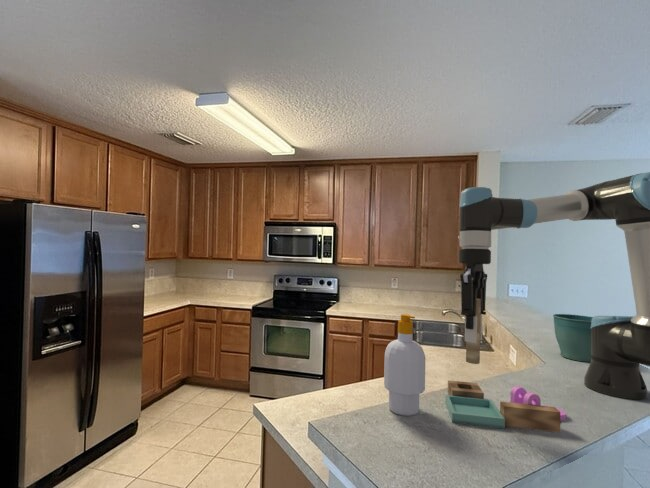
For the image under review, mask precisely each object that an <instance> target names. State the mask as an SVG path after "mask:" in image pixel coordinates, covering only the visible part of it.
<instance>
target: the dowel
mask: <svg viewBox="0 0 650 488" xmlns="http://www.w3.org/2000/svg"><path fill="white" fill-rule="evenodd" d="M480 313H481V299H479V298H477V302H476V315H475V316H477V343H471V342H466V341H465V343H466V344H465V362H466V363H467V364H472V365H479V364H480V362H481V361H480V360H481V359H480V357H481V341H480Z"/></svg>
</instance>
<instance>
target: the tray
mask: <svg viewBox="0 0 650 488" xmlns="http://www.w3.org/2000/svg"><path fill="white" fill-rule="evenodd" d="M444 398H445V400H444V402H445V406H446V409H447V411H448V415H449V418H450V420H451V423H452V424H453V423H455V424H462V425H471V426H480V427H487V428H496V429H506V426H505V418H504V417H503V416H502V414H501V413H500V409H499V408H498V406H496V404H495V402H494V401H493V400H492V399H490V398H488V399H487V398H484V399H480V398H471V397H461V396H451V395H448V394H445V397H444Z"/></svg>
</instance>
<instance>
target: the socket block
mask: <svg viewBox="0 0 650 488" xmlns="http://www.w3.org/2000/svg"><path fill="white" fill-rule="evenodd" d="M447 395H451V396H461V397H471V398H480V399H485V397H484V396H485V395H484V391H483V390H482V389H481V387H480V386H479V384H478V383H477V382H469V381H460V380H459V381H458V380H447Z"/></svg>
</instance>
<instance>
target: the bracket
mask: <svg viewBox="0 0 650 488" xmlns="http://www.w3.org/2000/svg"><path fill="white" fill-rule="evenodd" d="M510 402H511V403H521V404H530V405H540V406H542V405H541V403H542V402H541V397H540V396H539V395H538V394H536V393H534V392H532V391H528V392H527V390H526V389H525V388H523V387H521V386H519V385H515V386H513V387H512V388H511V390H510ZM549 406H550V407H553V405H552V406H551V405H549ZM554 407H555V408H556V409H557V410H558V411H559V412H560V422H561V421H566V419H567V413H566V411H565V410H563V409H562V408H558V407H556V406H554Z"/></svg>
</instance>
